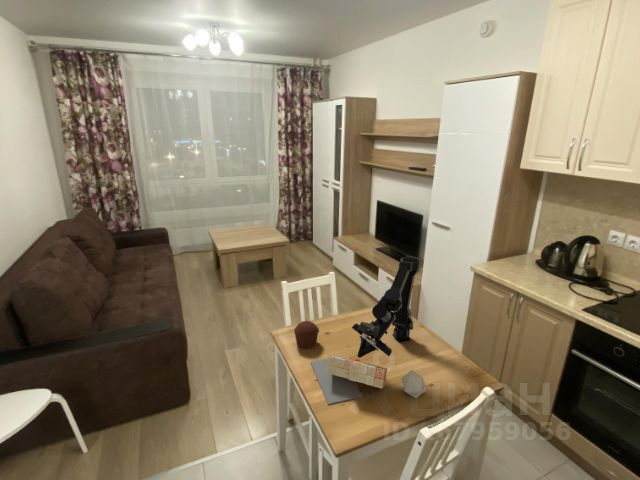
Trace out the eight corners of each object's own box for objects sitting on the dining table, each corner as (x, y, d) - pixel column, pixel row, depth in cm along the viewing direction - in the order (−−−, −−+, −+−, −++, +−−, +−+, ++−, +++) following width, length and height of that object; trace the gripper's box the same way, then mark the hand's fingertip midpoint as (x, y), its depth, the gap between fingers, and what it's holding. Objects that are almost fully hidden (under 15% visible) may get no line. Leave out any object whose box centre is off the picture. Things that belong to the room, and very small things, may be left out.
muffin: (294, 336, 160) (293, 317, 157) (317, 335, 161) (317, 316, 158) (294, 351, 149) (294, 331, 146) (319, 350, 150) (320, 330, 147)
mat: (339, 357, 145) (339, 356, 145) (362, 397, 123) (362, 396, 123) (310, 362, 141) (310, 361, 141) (328, 404, 119) (328, 403, 119)
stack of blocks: (331, 371, 136) (323, 373, 124) (334, 355, 137) (327, 355, 126) (385, 385, 129) (382, 389, 118) (387, 368, 131) (385, 370, 119)
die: (404, 403, 121) (422, 390, 117) (392, 380, 127) (410, 366, 122) (417, 400, 127) (435, 388, 122) (405, 378, 132) (423, 365, 127)
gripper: (356, 305, 137) (333, 336, 135) (388, 326, 122) (362, 362, 120) (370, 317, 144) (348, 347, 141) (402, 339, 129) (378, 373, 126)
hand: (358, 357), depth 132 cm, fingers closed
